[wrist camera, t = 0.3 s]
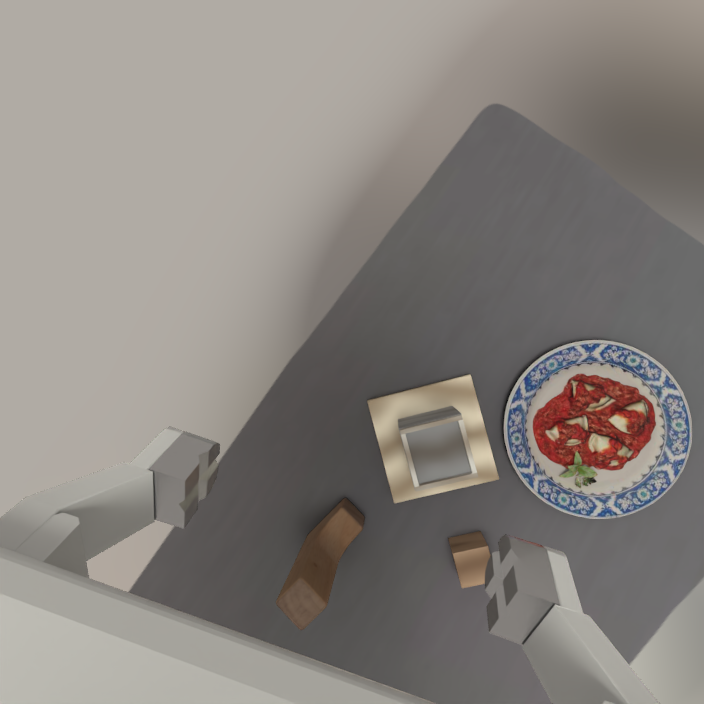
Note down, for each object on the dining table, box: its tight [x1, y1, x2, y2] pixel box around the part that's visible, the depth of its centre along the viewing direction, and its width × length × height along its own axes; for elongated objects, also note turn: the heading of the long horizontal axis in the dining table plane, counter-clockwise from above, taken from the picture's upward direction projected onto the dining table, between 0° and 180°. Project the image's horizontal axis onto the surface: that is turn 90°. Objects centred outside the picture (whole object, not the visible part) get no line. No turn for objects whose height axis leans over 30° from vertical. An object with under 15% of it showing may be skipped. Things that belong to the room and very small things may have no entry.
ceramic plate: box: [504, 340, 692, 519], centre depth 60 cm, size 26×26×3 cm
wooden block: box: [276, 498, 365, 630], centre depth 56 cm, size 9×4×18 cm, turn 136°
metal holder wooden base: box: [367, 374, 499, 503], centre depth 58 cm, size 16×16×10 cm
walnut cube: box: [448, 531, 490, 588], centre depth 60 cm, size 5×5×5 cm
